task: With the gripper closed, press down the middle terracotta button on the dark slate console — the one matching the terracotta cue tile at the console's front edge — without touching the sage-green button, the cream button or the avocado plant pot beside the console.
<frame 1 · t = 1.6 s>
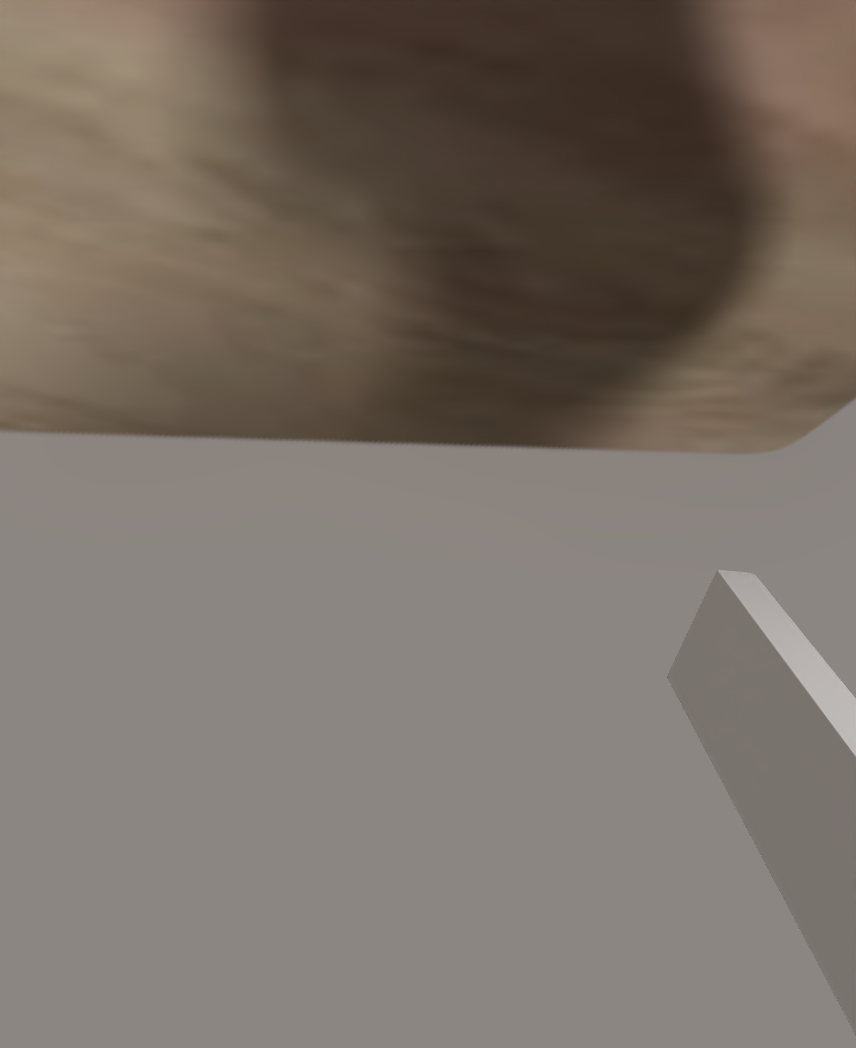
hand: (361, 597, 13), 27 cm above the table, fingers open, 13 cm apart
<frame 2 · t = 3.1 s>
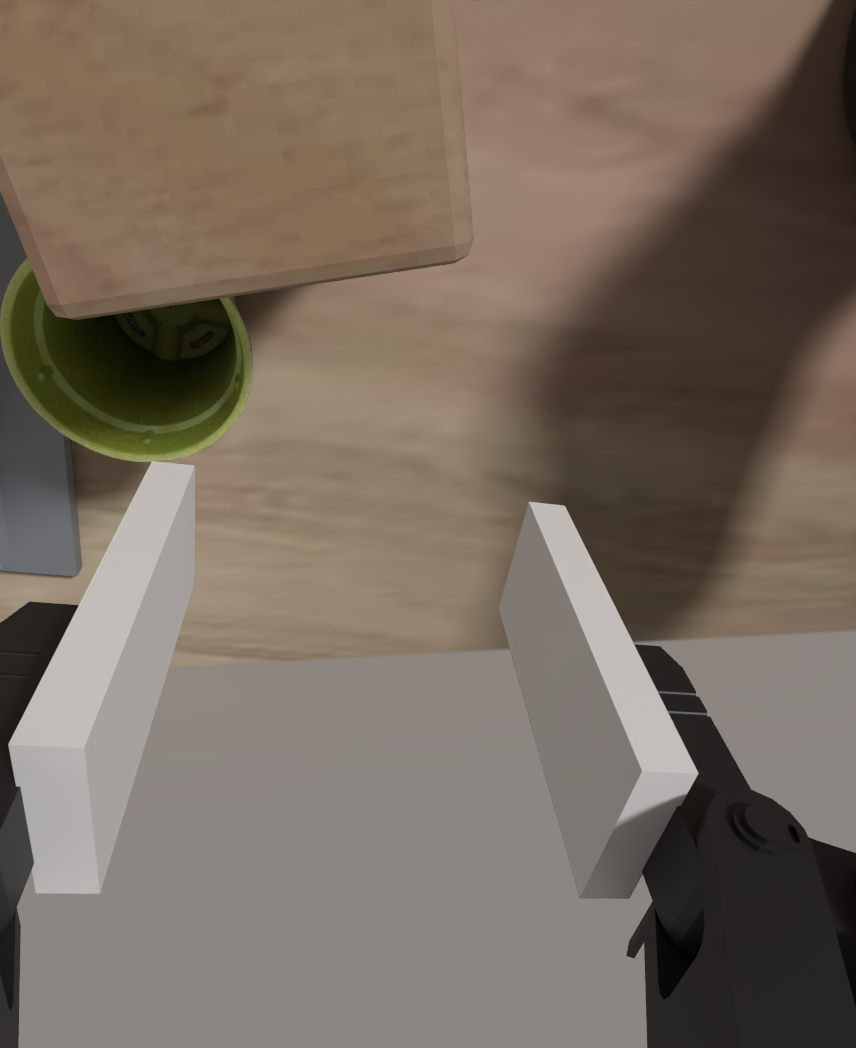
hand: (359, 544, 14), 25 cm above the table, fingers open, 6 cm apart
plant pot: (175, 297, 36), on the table
wooden block: (282, 56, 31), on the table
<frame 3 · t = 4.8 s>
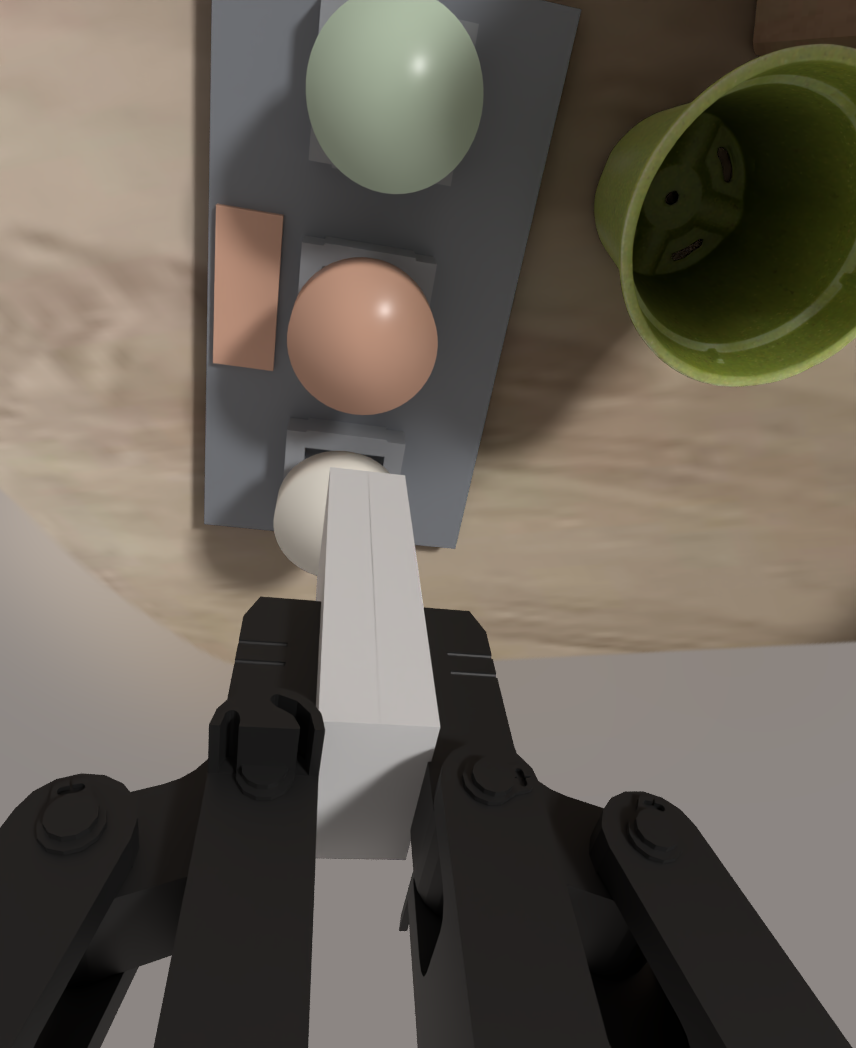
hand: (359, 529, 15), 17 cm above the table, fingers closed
plant pot: (667, 193, 28), on the table
button cream: (340, 507, 30), point 4 cm above the table, slide at 0.0 cm
button terracotta: (362, 332, 26), point 4 cm above the table, slide at 0.0 cm
button sage: (393, 95, 22), point 4 cm above the table, slide at 0.0 cm
console: (361, 301, 29), on the table
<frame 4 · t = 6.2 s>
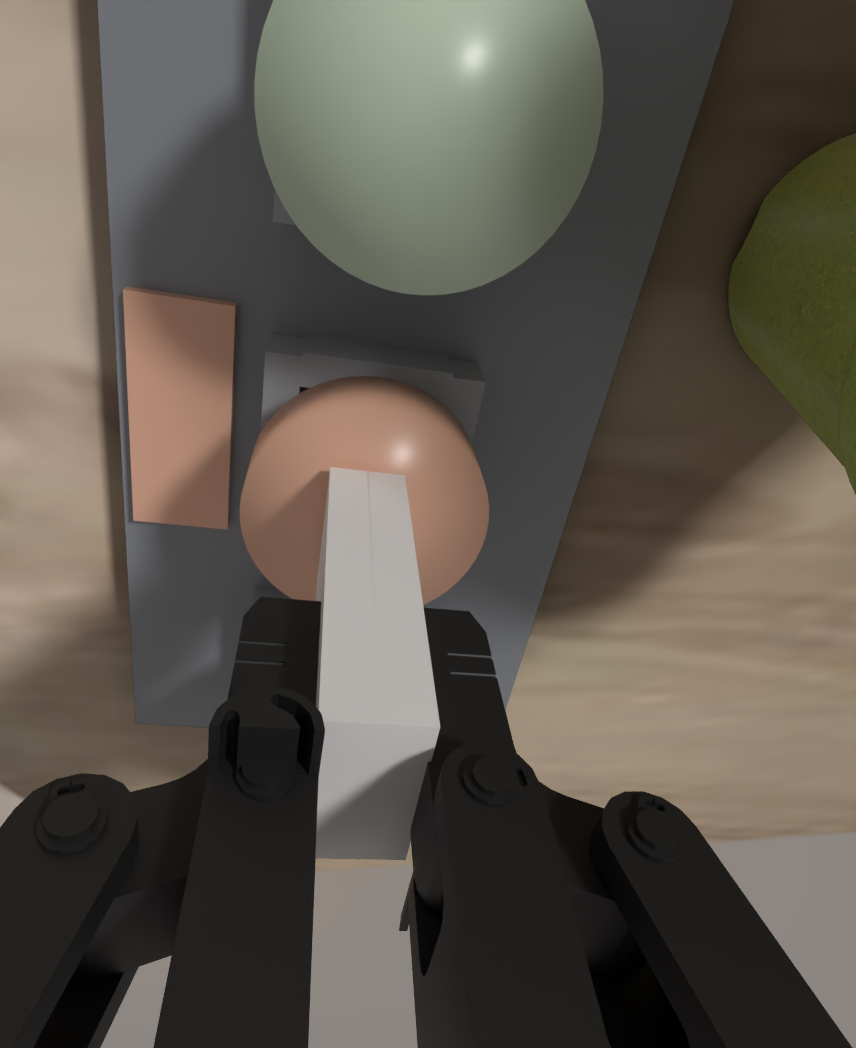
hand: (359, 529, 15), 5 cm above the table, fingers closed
plant pot: (840, 260, 18), on the table
button terracotta: (365, 486, 16), point 4 cm above the table, slide at -0.6 cm, touching gripper
button sage: (423, 113, 12), point 4 cm above the table, slide at 0.0 cm
console: (363, 422, 19), on the table
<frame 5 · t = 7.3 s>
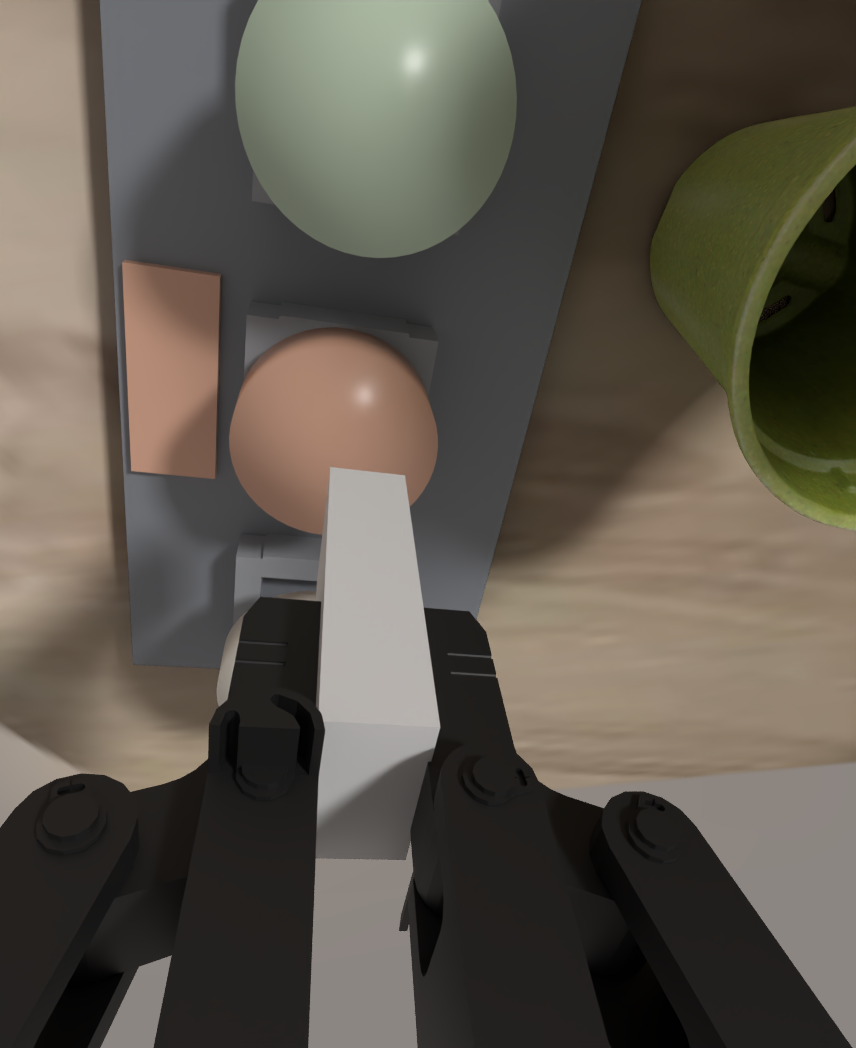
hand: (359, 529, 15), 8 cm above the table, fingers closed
plant pot: (746, 236, 21), on the table
button cream: (309, 659, 22), point 4 cm above the table, slide at 0.0 cm
button terracotta: (335, 424, 19), point 3 cm above the table, slide at -1.1 cm
button sage: (375, 108, 15), point 4 cm above the table, slide at 0.0 cm
console: (334, 383, 22), on the table
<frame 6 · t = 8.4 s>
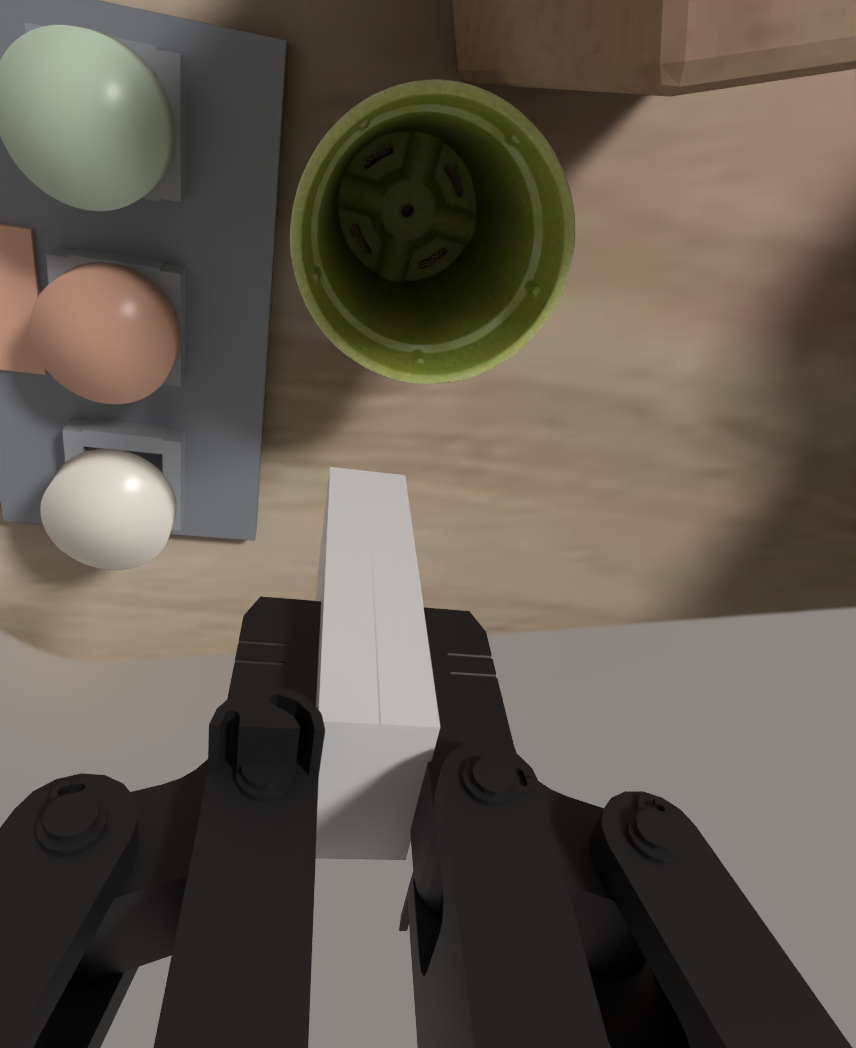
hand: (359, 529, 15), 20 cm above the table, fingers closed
plant pot: (408, 206, 31), on the table
button cream: (115, 502, 32), point 4 cm above the table, slide at 0.0 cm
button terracotta: (112, 329, 29), point 3 cm above the table, slide at -1.1 cm
button sage: (94, 120, 24), point 4 cm above the table, slide at 0.0 cm
console: (129, 308, 31), on the table
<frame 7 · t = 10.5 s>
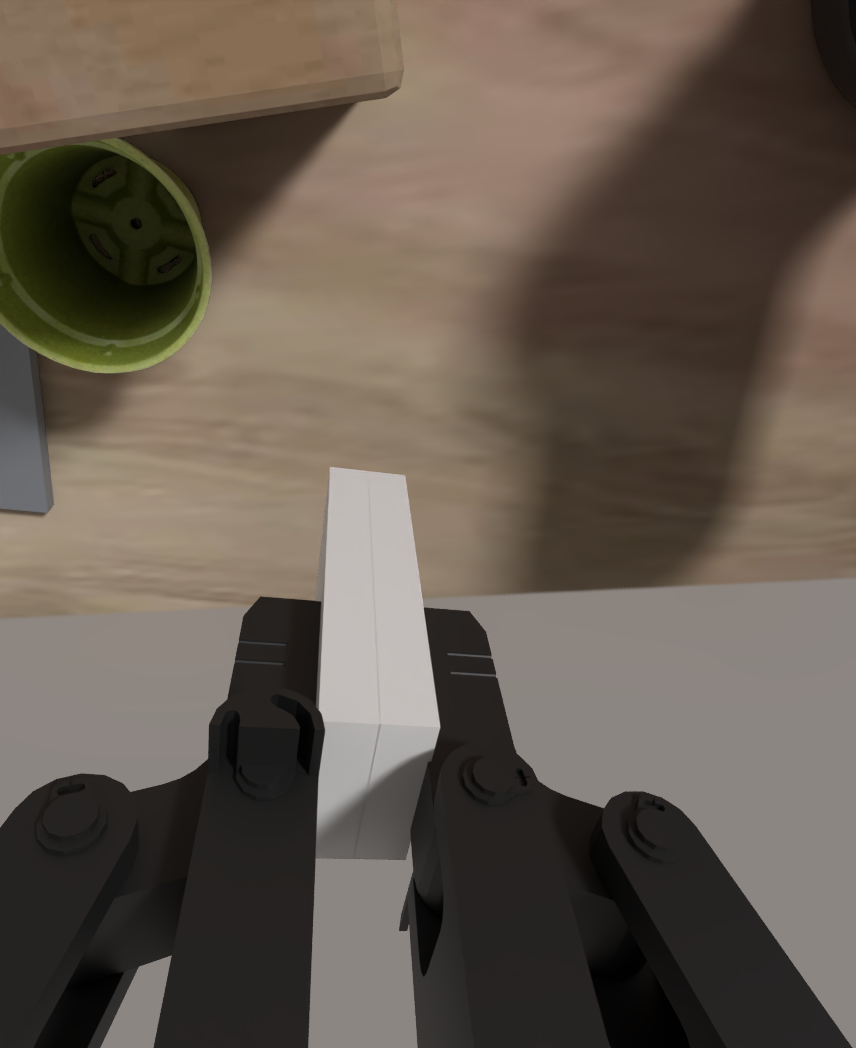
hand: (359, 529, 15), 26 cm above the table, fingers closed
plant pot: (141, 219, 35), on the table
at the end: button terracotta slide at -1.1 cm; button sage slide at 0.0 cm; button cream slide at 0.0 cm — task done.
